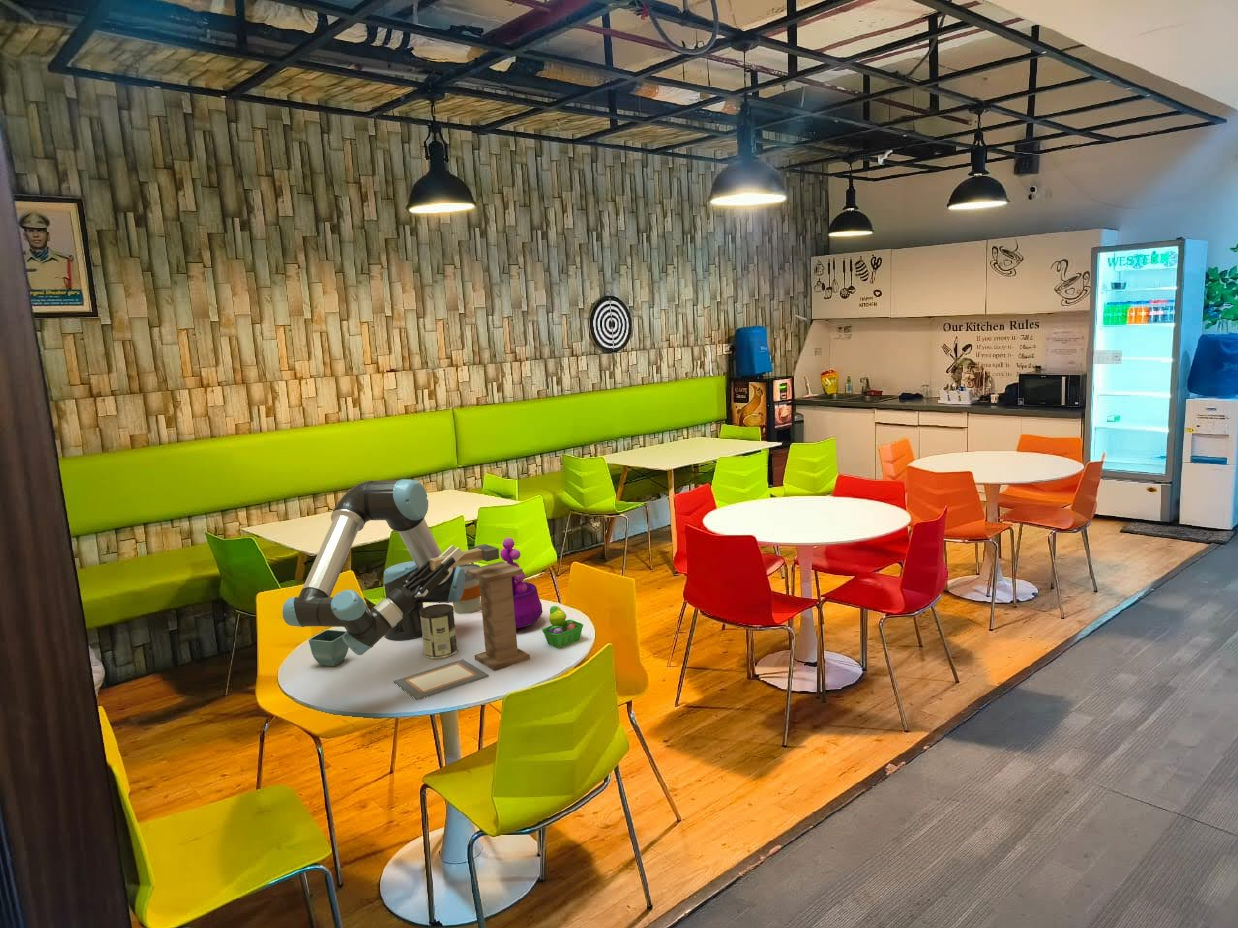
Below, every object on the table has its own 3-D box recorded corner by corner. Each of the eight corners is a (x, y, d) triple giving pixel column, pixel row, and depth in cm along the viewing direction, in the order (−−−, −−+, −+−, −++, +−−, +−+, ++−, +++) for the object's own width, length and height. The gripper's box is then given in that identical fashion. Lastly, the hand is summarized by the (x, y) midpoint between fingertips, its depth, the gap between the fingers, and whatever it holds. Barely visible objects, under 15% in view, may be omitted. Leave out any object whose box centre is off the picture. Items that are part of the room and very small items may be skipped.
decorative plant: (477, 625, 284) (469, 538, 279) (525, 611, 295) (518, 527, 290) (504, 639, 269) (496, 548, 264) (553, 624, 280) (547, 537, 275)
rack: (475, 659, 254) (466, 570, 250) (509, 648, 261) (502, 561, 257) (494, 671, 245) (486, 578, 240) (529, 659, 252) (522, 568, 247)
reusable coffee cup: (466, 617, 292) (462, 575, 290) (442, 611, 300) (437, 571, 297) (492, 606, 302) (488, 566, 299) (468, 601, 309) (464, 561, 307)
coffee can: (444, 643, 269) (440, 601, 267) (464, 650, 262) (460, 607, 260) (417, 654, 262) (412, 610, 259) (436, 661, 254) (432, 617, 252)
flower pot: (353, 658, 261) (350, 630, 260) (335, 670, 253) (331, 641, 252) (329, 656, 264) (326, 629, 263) (311, 667, 256) (307, 639, 254)
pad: (393, 682, 241) (393, 680, 241) (462, 660, 254) (462, 658, 254) (416, 700, 229) (416, 697, 228) (488, 676, 242) (488, 673, 241)
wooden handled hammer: (426, 567, 239) (425, 557, 239) (485, 553, 250) (485, 543, 250) (439, 573, 233) (438, 562, 232) (499, 558, 244) (498, 548, 244)
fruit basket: (556, 650, 258) (554, 615, 256) (539, 643, 264) (536, 609, 262) (585, 639, 265) (583, 605, 263) (568, 633, 272) (565, 599, 270)
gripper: (390, 609, 238) (452, 554, 248) (414, 623, 225) (478, 564, 236) (375, 591, 235) (438, 535, 245) (398, 603, 222) (464, 544, 232)
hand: (457, 549), depth 240 cm, fingers closed on wooden handled hammer, 3 cm apart
